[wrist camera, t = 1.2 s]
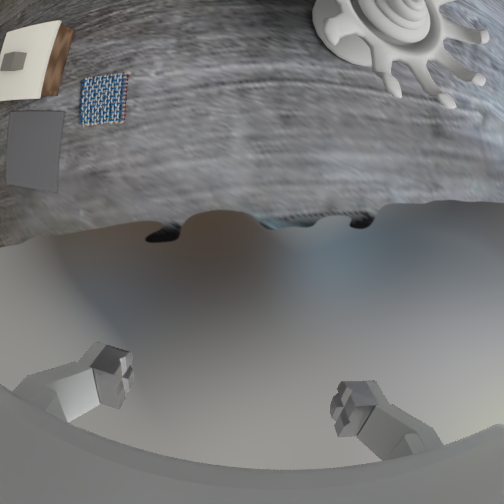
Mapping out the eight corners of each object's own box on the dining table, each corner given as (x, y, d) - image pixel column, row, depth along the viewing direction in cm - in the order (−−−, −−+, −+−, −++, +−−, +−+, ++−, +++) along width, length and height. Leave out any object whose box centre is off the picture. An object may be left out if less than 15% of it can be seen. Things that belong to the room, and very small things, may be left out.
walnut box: (28, 37, 29) (10, 34, 23) (75, 30, 32) (58, 23, 26) (13, 97, 36) (-6, 99, 30) (57, 95, 39) (38, 96, 32)
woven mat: (84, 78, 39) (79, 77, 37) (131, 72, 40) (127, 70, 38) (81, 126, 43) (76, 127, 42) (126, 123, 45) (123, 123, 43)
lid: (13, 33, 24) (-5, 30, 18) (64, 22, 27) (47, 16, 21) (-4, 101, 31) (-22, 104, 25) (43, 98, 34) (24, 99, 28)
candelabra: (387, 135, 49) (483, 166, 25) (235, 44, 39) (242, -20, 15) (440, 31, 35) (525, 23, 11) (313, -58, 26) (359, -123, 2)
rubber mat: (11, 111, 37) (10, 111, 37) (65, 111, 41) (64, 111, 40) (6, 183, 45) (6, 183, 45) (57, 192, 49) (56, 193, 48)
